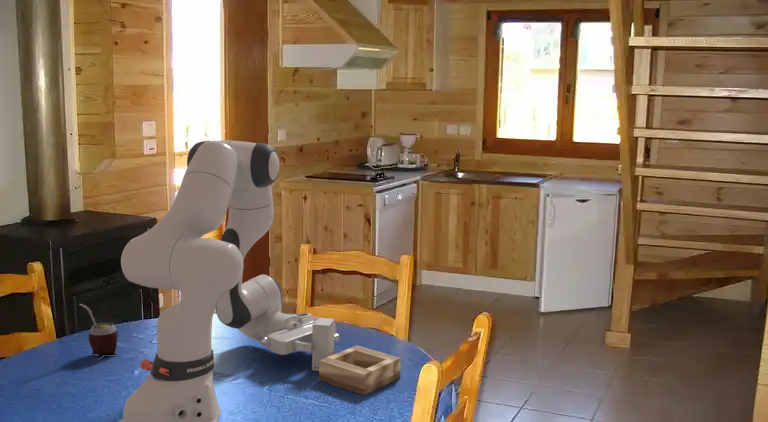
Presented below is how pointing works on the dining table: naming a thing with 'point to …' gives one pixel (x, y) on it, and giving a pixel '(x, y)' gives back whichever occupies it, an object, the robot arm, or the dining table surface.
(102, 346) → the mate gourd
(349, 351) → the socket block
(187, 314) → the robot arm
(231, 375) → the dining table surface
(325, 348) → the skincare box
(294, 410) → the dining table surface
